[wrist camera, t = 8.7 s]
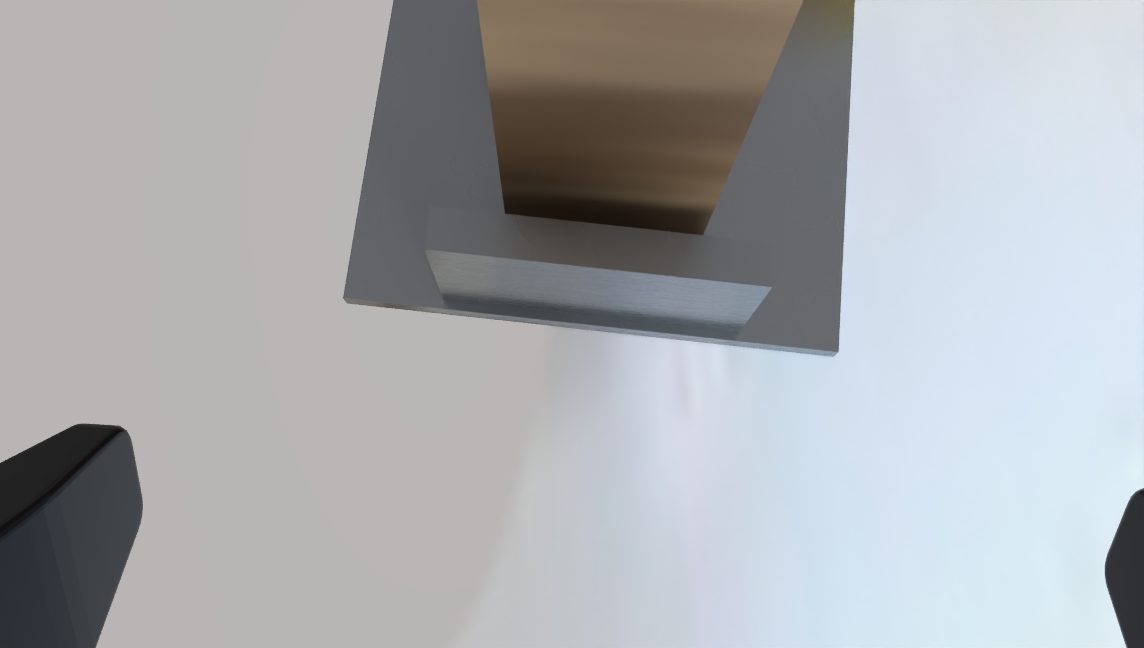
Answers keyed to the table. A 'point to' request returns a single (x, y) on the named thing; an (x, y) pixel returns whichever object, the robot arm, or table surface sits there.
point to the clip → (596, 251)
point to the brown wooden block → (626, 103)
